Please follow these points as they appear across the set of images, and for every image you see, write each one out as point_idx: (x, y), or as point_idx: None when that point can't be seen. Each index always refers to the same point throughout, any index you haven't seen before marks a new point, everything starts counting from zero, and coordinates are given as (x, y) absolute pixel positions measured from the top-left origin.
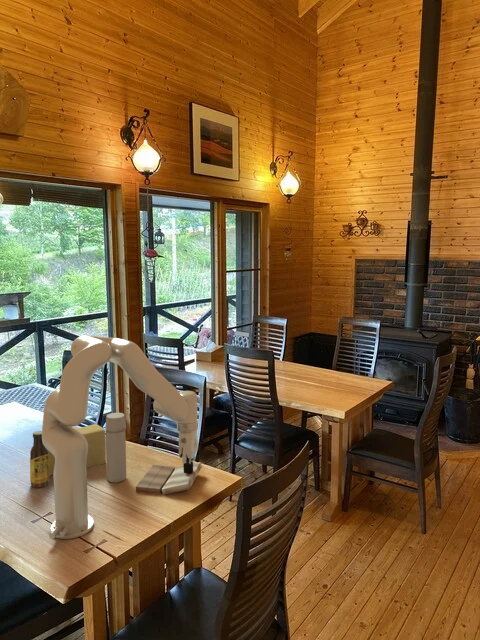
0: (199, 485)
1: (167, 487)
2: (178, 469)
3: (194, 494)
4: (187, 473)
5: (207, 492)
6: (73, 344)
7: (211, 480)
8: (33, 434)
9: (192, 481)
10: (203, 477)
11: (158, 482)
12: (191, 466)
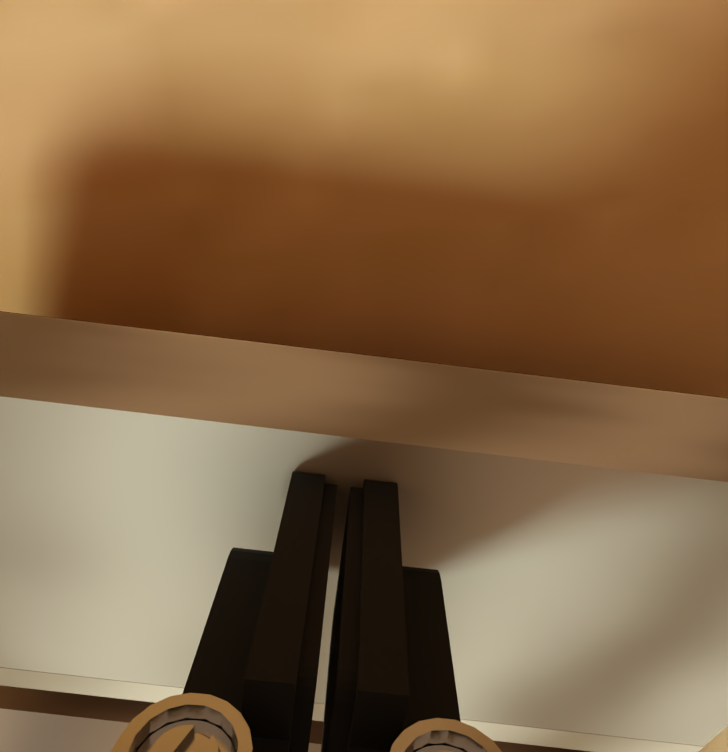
0: (393, 244)
1: (704, 725)
2: (64, 661)
3: (716, 288)
4: (338, 551)
5: (671, 49)
6: None
7: (169, 26)
8: None
9: (634, 405)
10: (82, 210)
11: None
12: (401, 616)
